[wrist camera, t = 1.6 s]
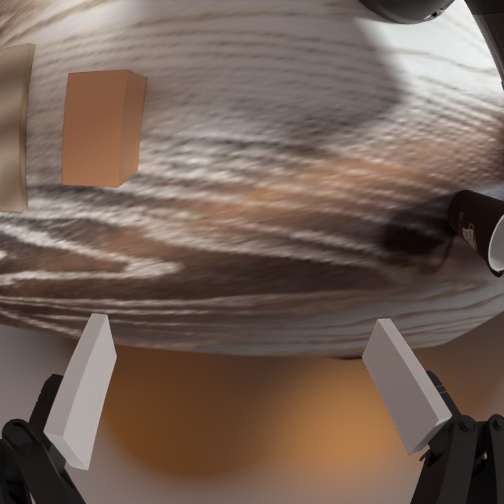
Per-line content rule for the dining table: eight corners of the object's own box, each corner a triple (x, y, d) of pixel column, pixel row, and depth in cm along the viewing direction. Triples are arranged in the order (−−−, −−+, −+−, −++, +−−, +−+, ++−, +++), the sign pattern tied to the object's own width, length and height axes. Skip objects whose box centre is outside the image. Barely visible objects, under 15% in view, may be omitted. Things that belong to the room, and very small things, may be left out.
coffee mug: (446, 181, 34) (497, 206, 25) (485, 183, 35) (532, 206, 26) (433, 259, 40) (474, 296, 31) (471, 253, 40) (511, 285, 31)
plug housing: (97, 78, 25) (68, 73, 19) (147, 77, 26) (128, 70, 20) (90, 168, 30) (62, 184, 23) (137, 170, 30) (118, 187, 24)
